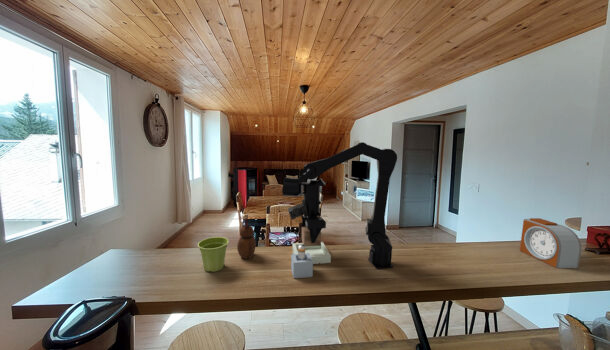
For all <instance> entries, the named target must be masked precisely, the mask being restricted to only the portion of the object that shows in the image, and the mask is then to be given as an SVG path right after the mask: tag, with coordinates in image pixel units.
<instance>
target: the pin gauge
mask: <svg viewBox="0 0 610 350" xmlns="http://www.w3.org/2000/svg"><path fill="white" fill-rule="evenodd" d="M305 251H306V247H305V245H304V244H300V245H299V247H298V261H300V260H305Z"/></svg>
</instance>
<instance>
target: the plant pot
mask: <svg viewBox="0 0 610 350" xmlns="http://www.w3.org/2000/svg"><path fill="white" fill-rule="evenodd" d="M229 243H230V242H229V239H228V238H227V237H223V236H213V237H207V238H205V239H202V240H200V241H199V242H198V243H197V247H198V248H199V251H200V253H201V260H202V264H203V265H202V266H203V269H204V271H206V272H214V273H216V272H218V271H220V270H222V269H223V268H224V266H225V258H226V251H227V247H228V244H229Z"/></svg>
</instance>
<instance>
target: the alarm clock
mask: <svg viewBox="0 0 610 350" xmlns="http://www.w3.org/2000/svg"><path fill="white" fill-rule="evenodd" d="M519 246H520V247H519V251H520V252H522V253H524V254H526V255H528V256H530V257H533V258H534V259H537V260H538V261H541V262H543V263H545V264H547V265H549V266H551V267H553V268H556V269H578V268H579V267H580V261H581V255H582V242H581V239H580V238H579V236H578V235H577V234H576V232H574V231H573V230H572V229H571V228H569V227H567V226H565V225H561V224H558V223H556V222H553V221H550V220H547V219H543V218H537V217H536V218H535V217H534V218H533V217H530V218H524V219H523V223H522V231H521V237H520V245H519Z"/></svg>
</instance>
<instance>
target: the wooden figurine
mask: <svg viewBox="0 0 610 350" xmlns="http://www.w3.org/2000/svg"><path fill="white" fill-rule="evenodd" d="M253 234H254V228H253V226H252V225H248V218H247V217H245V225H243V226H241V227H240V230H239V235H240V237H239V239H238V242H237V246H236V247H237V253H238V255H239V256H240V257H241V258H242V259H250V258H251V257H253V256H254V253H255V252H256V251H255V250H256V245H257V242H256V237H255V236H254V235H253Z"/></svg>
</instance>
